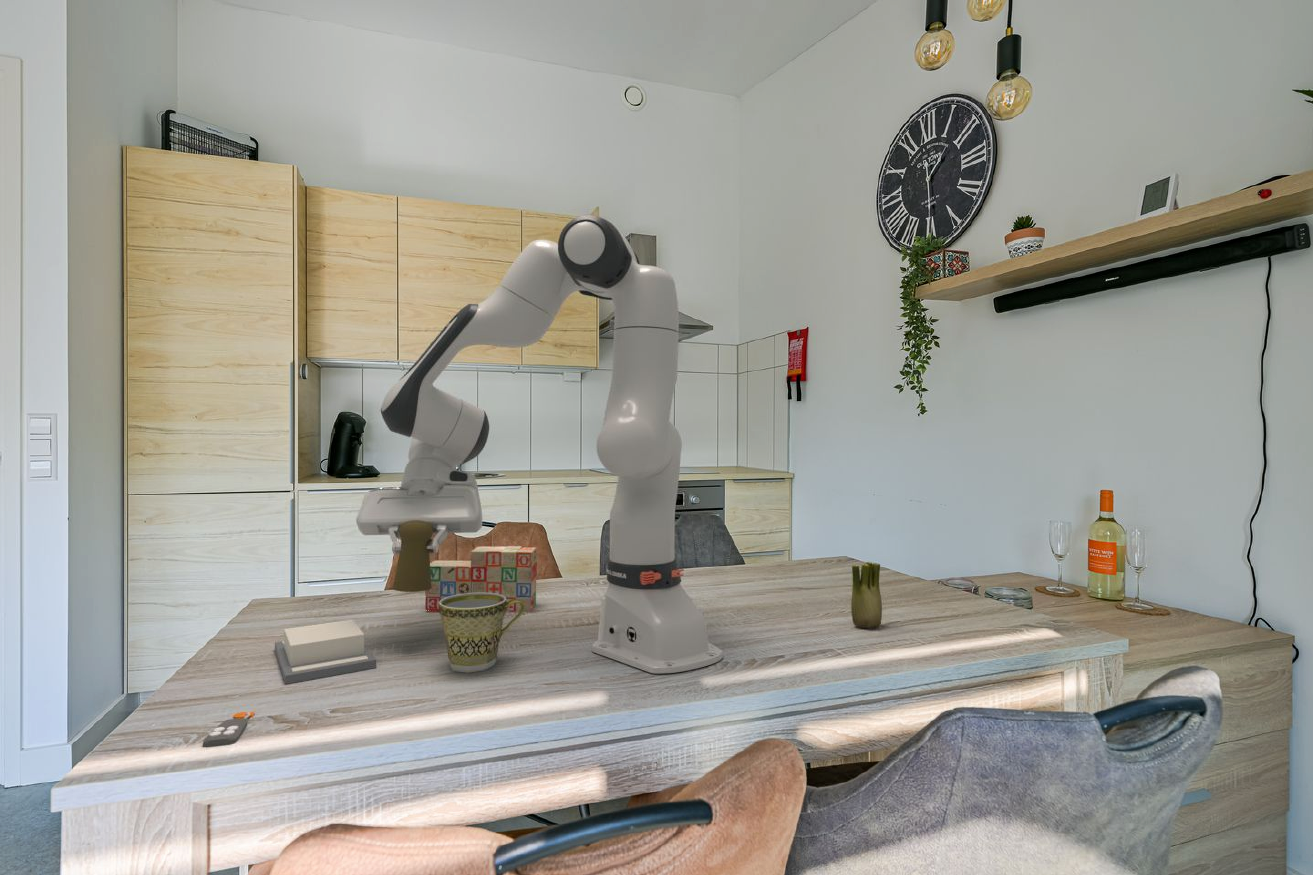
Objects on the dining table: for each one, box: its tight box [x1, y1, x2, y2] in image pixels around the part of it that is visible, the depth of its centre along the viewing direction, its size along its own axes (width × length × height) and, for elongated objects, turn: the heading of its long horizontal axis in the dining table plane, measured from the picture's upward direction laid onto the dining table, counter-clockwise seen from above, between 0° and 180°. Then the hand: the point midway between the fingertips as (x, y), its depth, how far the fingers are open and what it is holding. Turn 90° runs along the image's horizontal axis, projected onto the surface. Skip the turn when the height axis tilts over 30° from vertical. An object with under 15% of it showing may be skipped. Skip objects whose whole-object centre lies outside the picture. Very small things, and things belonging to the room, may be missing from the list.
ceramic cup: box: [439, 592, 525, 674], centre depth 101 cm, size 13×10×10 cm
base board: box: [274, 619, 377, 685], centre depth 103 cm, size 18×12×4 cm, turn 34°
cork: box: [392, 520, 434, 593], centre depth 108 cm, size 6×6×11 cm
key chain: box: [202, 707, 259, 748], centre depth 80 cm, size 13×4×2 cm, turn 16°
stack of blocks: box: [424, 545, 538, 613], centre depth 134 cm, size 21×6×12 cm, turn 91°
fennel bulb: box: [850, 561, 883, 630], centre depth 122 cm, size 6×5×12 cm
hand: (414, 551), depth 107 cm, fingers closed on cork, 4 cm apart
